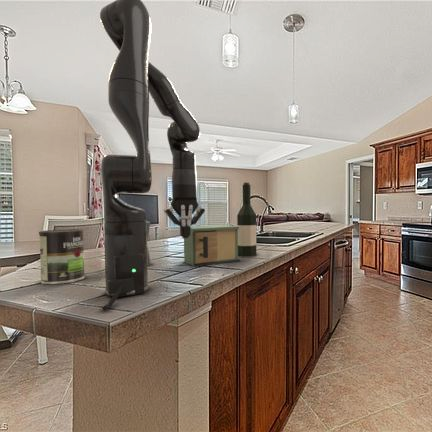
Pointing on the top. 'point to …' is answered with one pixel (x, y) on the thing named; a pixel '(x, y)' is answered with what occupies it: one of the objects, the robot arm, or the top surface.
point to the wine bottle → (246, 225)
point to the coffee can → (61, 256)
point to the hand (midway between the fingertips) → (185, 237)
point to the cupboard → (225, 244)
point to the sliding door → (205, 247)
